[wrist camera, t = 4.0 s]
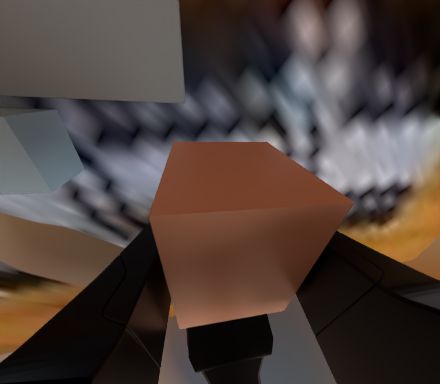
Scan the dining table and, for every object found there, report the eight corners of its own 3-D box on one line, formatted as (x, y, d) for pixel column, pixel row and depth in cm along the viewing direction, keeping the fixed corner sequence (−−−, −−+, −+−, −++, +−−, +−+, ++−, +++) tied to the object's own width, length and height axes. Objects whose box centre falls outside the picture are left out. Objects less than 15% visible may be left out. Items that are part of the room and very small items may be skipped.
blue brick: (84, 168, 18) (52, 192, 14) (39, 169, 17) (-10, 195, 13) (57, 109, 14) (3, 117, 10) (-2, 107, 14) (-85, 114, 10)
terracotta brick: (248, 227, 11) (283, 310, 7) (184, 233, 10) (179, 328, 6) (267, 141, 8) (354, 202, 4) (173, 141, 7) (148, 216, 3)
